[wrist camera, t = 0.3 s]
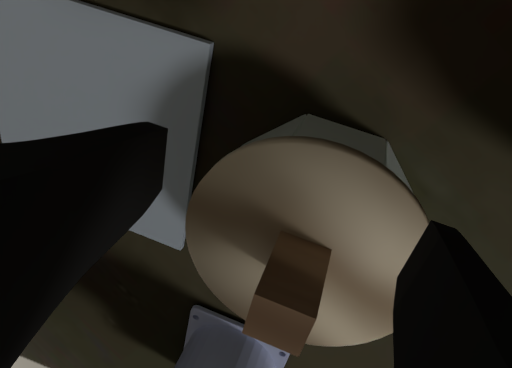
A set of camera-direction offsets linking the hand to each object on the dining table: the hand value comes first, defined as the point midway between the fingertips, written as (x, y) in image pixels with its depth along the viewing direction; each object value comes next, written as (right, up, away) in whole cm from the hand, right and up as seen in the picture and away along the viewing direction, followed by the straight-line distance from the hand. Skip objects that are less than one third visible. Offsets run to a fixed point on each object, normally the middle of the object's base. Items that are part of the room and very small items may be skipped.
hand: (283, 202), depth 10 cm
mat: (-11, +4, +14) cm, 18 cm away
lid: (+2, -3, +8) cm, 9 cm away
